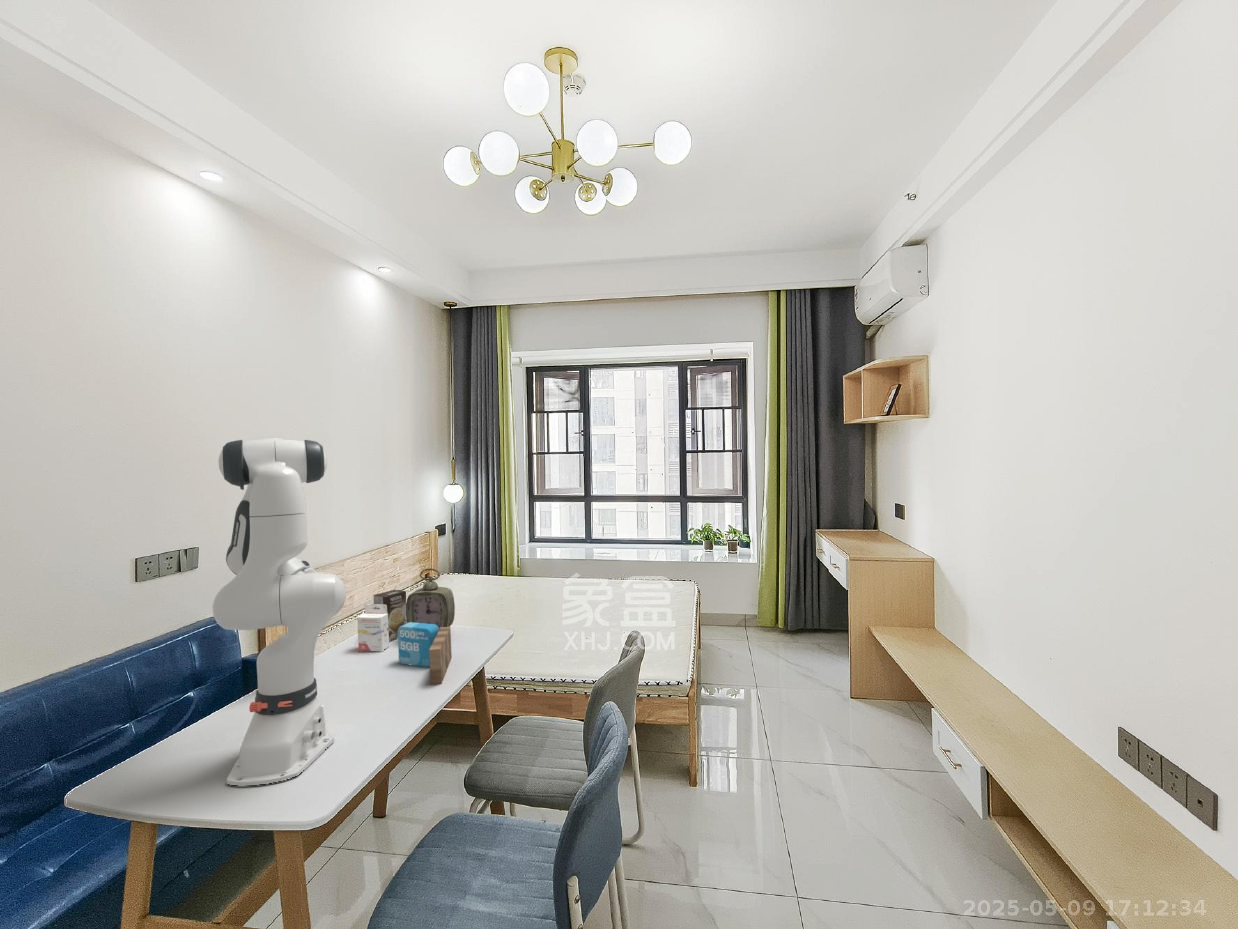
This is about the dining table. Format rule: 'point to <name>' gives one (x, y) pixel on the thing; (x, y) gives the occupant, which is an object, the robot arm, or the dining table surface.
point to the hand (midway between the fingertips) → (320, 606)
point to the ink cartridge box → (373, 628)
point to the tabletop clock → (431, 604)
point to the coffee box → (393, 609)
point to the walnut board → (440, 655)
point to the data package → (416, 643)
